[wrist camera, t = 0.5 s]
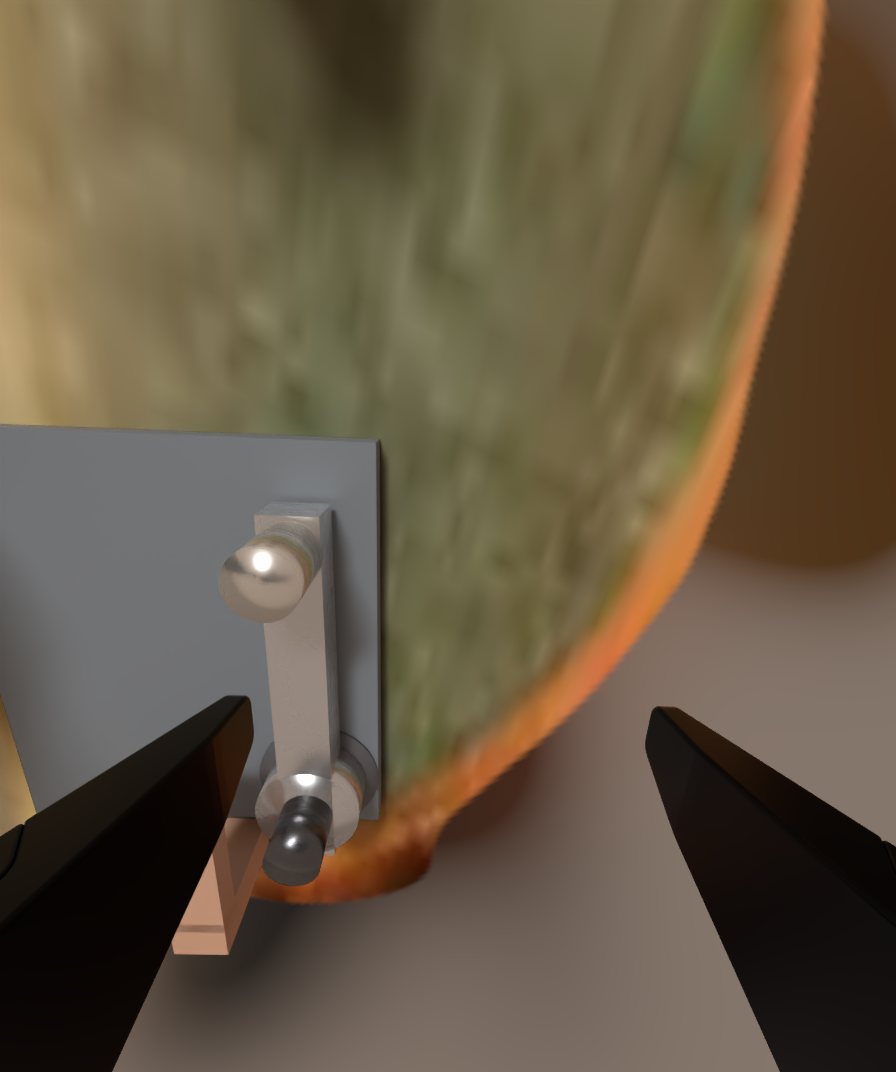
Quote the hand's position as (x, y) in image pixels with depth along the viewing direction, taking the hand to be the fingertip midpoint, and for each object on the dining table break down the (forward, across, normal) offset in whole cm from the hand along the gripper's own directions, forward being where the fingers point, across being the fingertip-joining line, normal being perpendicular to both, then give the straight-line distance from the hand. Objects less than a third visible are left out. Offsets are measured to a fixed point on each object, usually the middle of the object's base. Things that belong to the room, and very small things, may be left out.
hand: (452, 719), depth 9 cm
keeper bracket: (+13, +11, +14) cm, 22 cm away
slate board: (+13, +12, +6) cm, 19 cm away
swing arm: (+11, +6, +7) cm, 15 cm away
